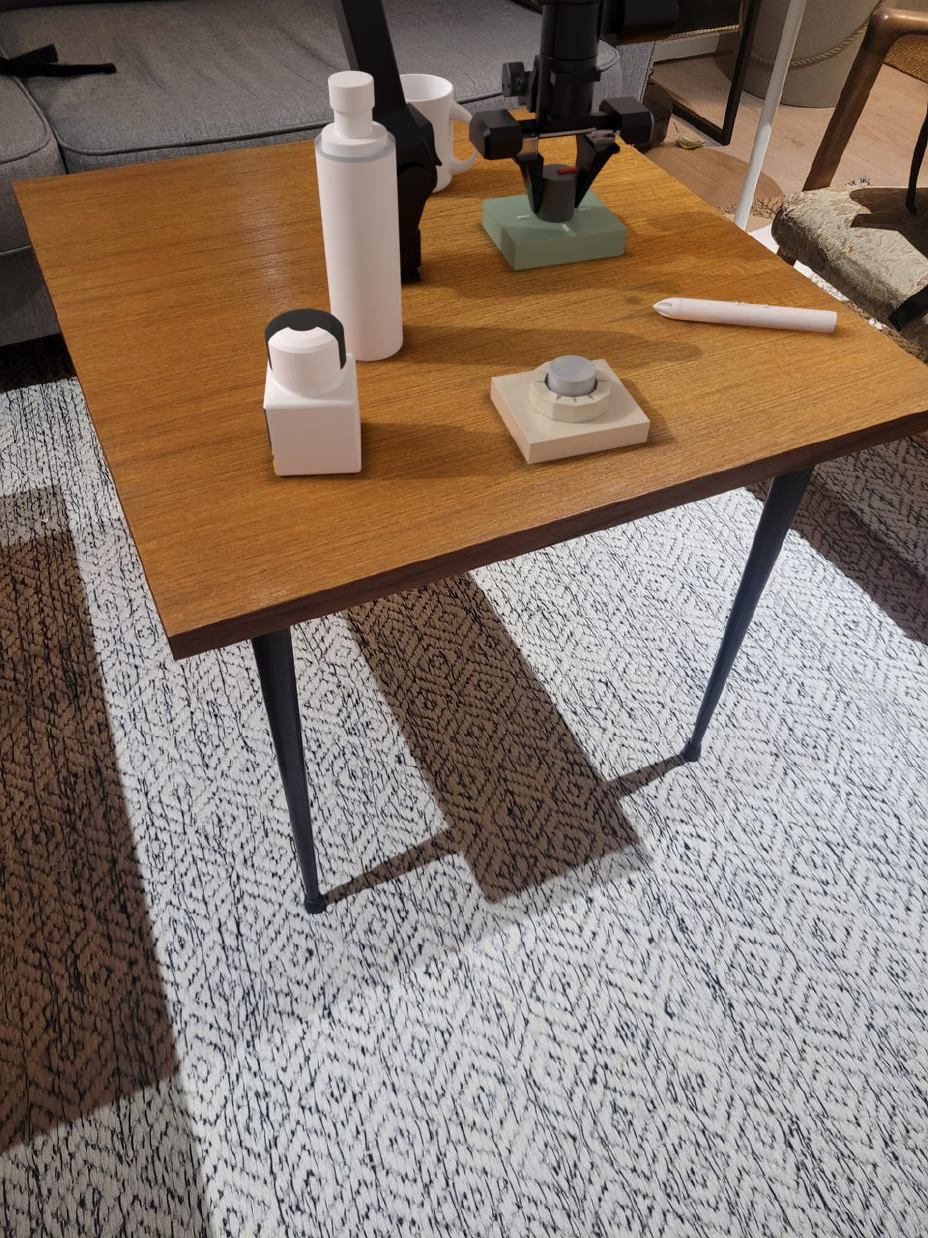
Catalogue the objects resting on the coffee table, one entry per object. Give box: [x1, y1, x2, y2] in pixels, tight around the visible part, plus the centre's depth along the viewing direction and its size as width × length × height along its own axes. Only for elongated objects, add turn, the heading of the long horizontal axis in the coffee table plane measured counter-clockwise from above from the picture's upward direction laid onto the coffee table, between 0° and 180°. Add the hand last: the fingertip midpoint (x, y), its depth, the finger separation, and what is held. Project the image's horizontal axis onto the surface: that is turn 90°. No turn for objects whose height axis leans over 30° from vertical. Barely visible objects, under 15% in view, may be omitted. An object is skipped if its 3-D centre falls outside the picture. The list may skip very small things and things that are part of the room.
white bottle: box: [314, 70, 404, 362], centre depth 80 cm, size 7×7×25 cm
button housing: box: [490, 358, 651, 465], centre depth 80 cm, size 11×10×4 cm
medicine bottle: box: [262, 308, 362, 477], centre depth 74 cm, size 7×7×12 cm
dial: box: [535, 163, 578, 222], centre depth 100 cm, size 4×4×5 cm
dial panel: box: [481, 187, 628, 271], centre depth 103 cm, size 13×11×3 cm
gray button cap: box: [548, 354, 596, 397], centre depth 79 cm, size 4×4×2 cm
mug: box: [399, 73, 479, 194], centre depth 110 cm, size 9×12×11 cm
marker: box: [652, 297, 838, 334], centre depth 92 cm, size 18×2×2 cm, turn 82°
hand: (554, 209), depth 102 cm, fingers closed on dial, 4 cm apart
